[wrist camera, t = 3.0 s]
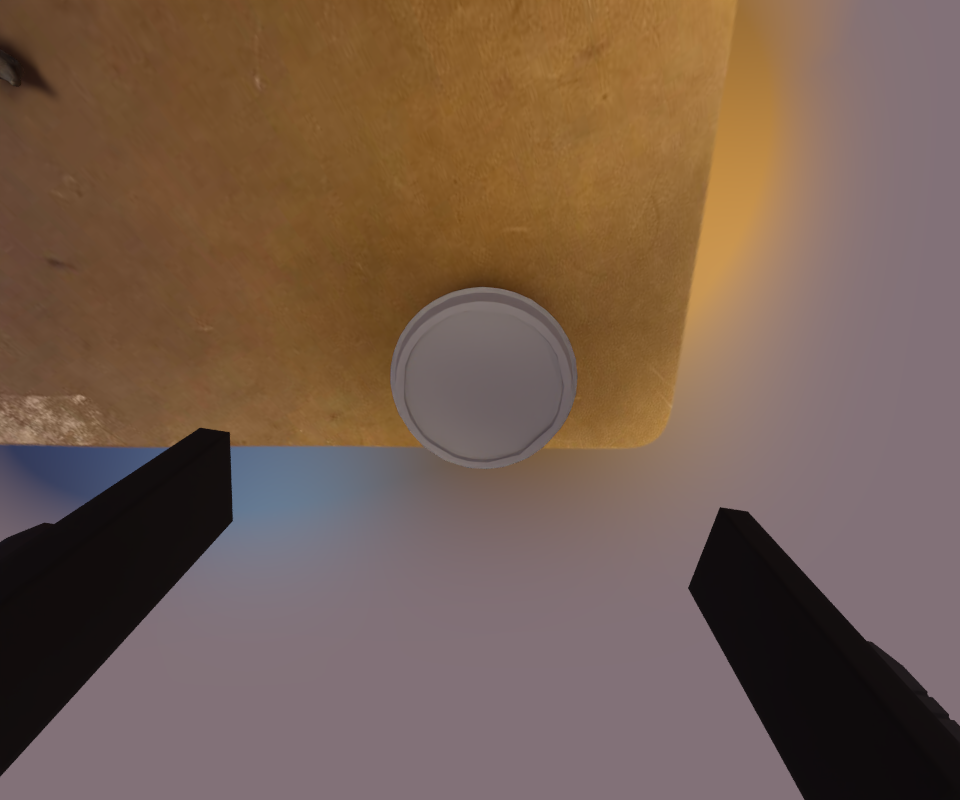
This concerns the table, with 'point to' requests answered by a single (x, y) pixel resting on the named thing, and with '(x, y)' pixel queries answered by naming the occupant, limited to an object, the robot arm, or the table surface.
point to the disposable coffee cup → (483, 377)
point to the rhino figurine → (10, 69)
